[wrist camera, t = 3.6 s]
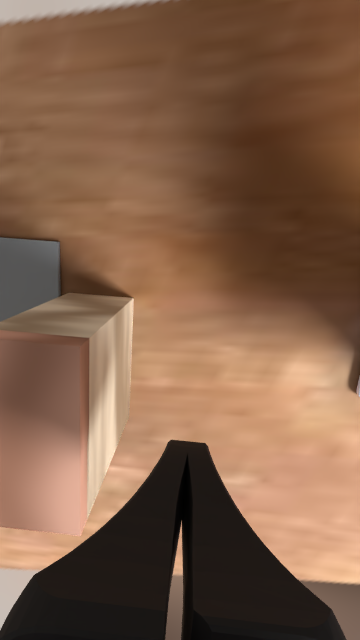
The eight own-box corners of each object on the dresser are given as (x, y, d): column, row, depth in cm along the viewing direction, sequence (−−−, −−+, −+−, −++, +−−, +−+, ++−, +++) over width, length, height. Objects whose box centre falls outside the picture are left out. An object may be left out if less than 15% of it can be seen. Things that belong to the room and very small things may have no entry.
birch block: (133, 298, 20) (80, 346, 11) (129, 416, 22) (80, 536, 13) (68, 292, 20) (-34, 336, 12) (70, 410, 22) (-17, 525, 14)
